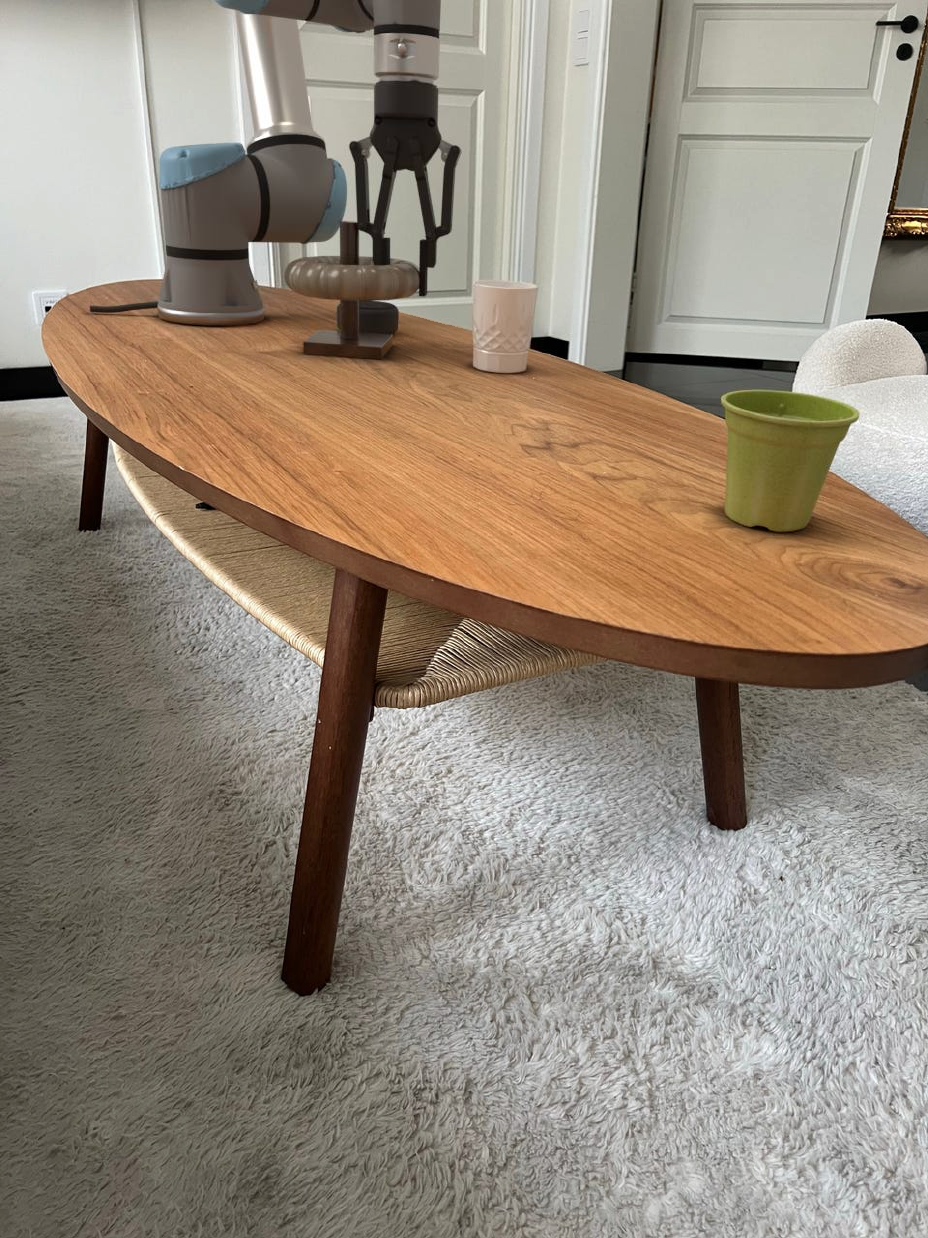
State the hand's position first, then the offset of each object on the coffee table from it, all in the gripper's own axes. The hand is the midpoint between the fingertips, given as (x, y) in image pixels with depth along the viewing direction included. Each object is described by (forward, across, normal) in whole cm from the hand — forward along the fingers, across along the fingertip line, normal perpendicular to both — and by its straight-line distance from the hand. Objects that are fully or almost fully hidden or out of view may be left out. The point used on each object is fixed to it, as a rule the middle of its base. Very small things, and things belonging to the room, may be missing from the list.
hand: (404, 293), depth 115 cm
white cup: (+8, +13, -5) cm, 16 cm away
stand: (+7, -7, 0) cm, 10 cm away
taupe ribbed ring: (-2, -6, 0) cm, 7 cm away
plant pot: (+9, +35, -55) cm, 65 cm away
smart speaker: (+7, -7, +14) cm, 18 cm away
